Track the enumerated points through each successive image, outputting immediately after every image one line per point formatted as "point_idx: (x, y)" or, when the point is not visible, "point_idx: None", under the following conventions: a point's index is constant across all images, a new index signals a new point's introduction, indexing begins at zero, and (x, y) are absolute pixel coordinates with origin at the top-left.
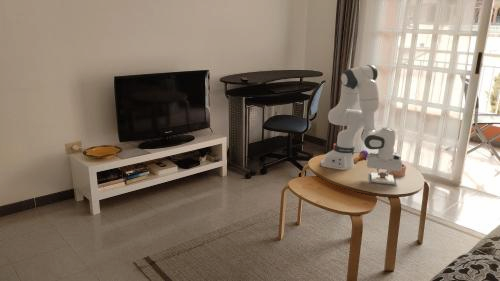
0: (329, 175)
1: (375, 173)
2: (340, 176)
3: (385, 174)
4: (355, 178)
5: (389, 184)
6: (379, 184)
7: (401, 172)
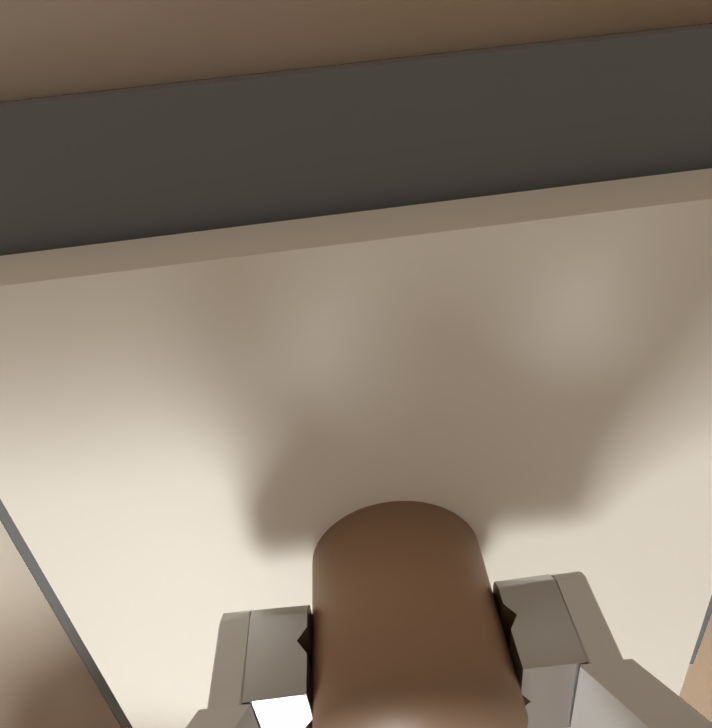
0: None
1: None
2: None
3: (320, 663)
4: None
5: (115, 221)
6: (494, 49)
7: None
